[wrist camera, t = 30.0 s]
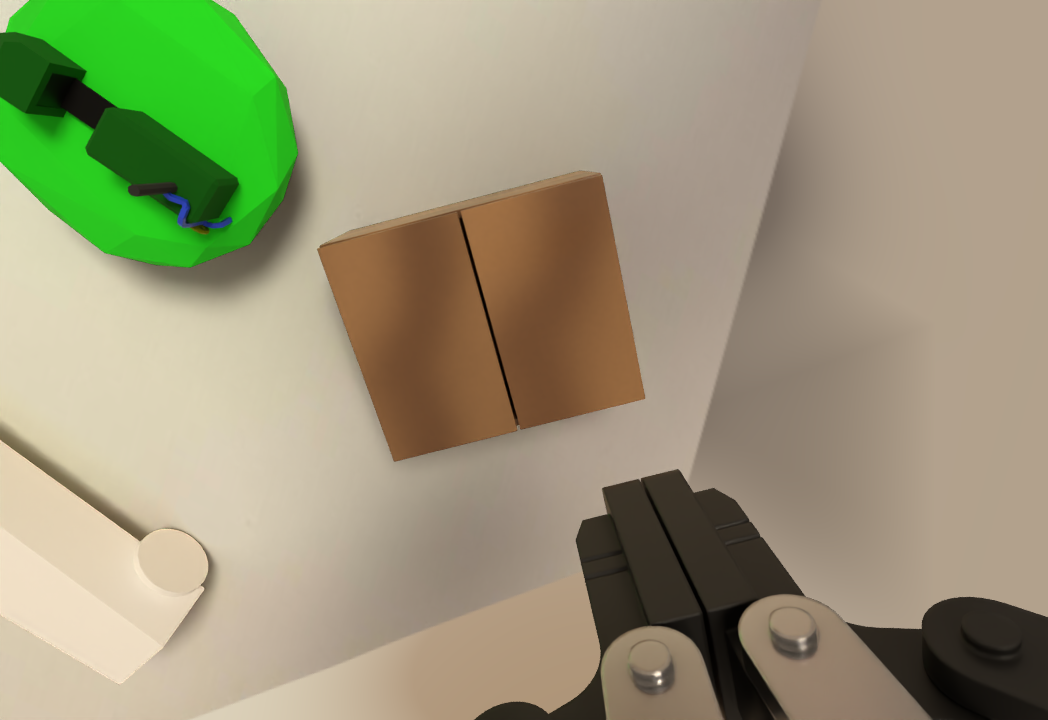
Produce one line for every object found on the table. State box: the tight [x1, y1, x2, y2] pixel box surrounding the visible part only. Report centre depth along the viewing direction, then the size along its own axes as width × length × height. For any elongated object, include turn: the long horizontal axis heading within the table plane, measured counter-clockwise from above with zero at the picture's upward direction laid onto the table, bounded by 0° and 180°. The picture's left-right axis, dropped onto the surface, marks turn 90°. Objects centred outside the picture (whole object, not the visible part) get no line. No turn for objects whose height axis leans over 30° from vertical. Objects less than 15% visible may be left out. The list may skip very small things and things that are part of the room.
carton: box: [317, 171, 601, 462], centre depth 30 cm, size 13×11×7 cm
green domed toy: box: [0, 0, 298, 268], centre depth 24 cm, size 12×12×11 cm
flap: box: [461, 175, 645, 429], centre depth 27 cm, size 6×11×1 cm, turn 14°
